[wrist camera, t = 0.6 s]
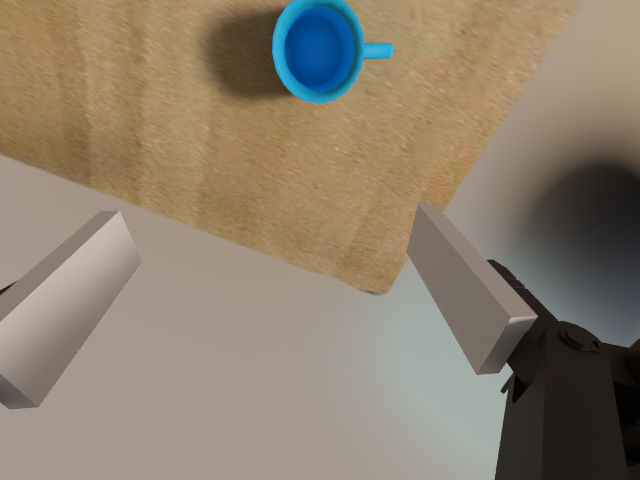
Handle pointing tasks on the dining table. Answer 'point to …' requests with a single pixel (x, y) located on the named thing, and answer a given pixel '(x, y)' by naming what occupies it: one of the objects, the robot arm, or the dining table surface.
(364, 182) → the dining table surface
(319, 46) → the mug
